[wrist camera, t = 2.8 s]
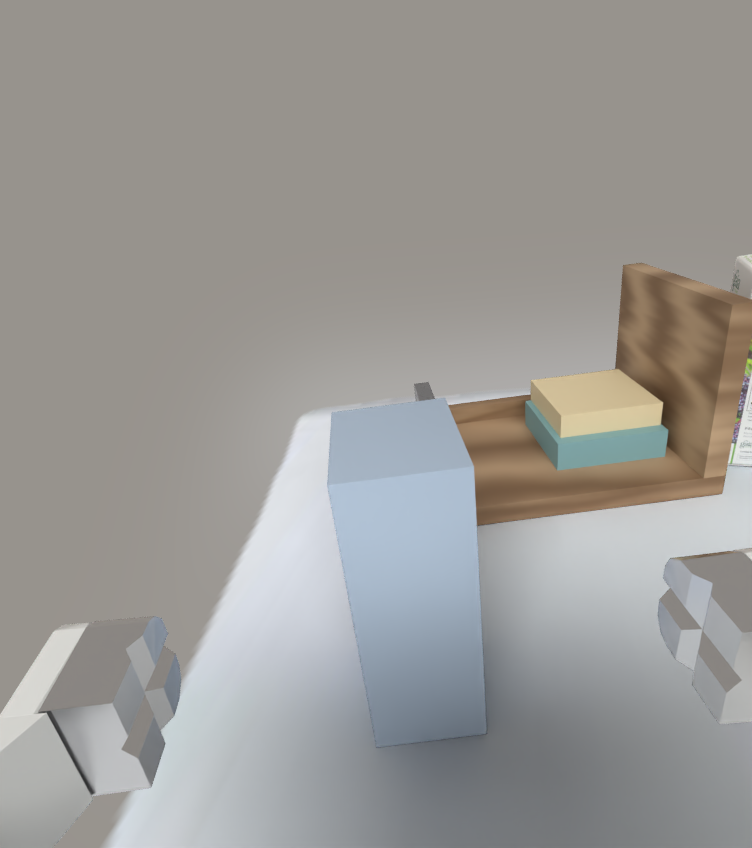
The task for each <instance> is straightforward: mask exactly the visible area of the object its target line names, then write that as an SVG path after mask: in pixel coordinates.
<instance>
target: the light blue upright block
mask: <svg viewBox="0 0 752 848" xmlns="http://www.w3.org/2000/svg"><path fill="white" fill-rule="evenodd" d="M327 487H328V492H329V497H330V502H331V508H332V513H333V518H334V524H335V529H336V534H337V540H338V545H339V550H340V555H341V561H342V566H343V571H344V577H345V582H346V587H347V593H348V598H349V603H350V609H351V614H352V619H353V624H354V630H355V635H356V640H357V646H358V651H359V656H360V662H361V667H362V672H363V678H364V683H365V688H366V693H367V699H368V704H369V709H370V715H371V720H372V725H373V731H374V736H375V741H376V747H377V748H378V747H386V746H394V745H402V744H410V743H418V742H426V741H434V740H442V739H450V738H458V737H466V736H474V735H482V734H487V725H486V704H485V684H484V663H483V643H482V622H481V602H480V581H479V561H478V540H477V520H476V499H475V479H474V465H473V463H472V461H471V458H470V456H469V454H468V451H467V449H466V447H465V444H464V442H463V439H462V437H461V435H460V432H459V430H458V428H457V425H456V423H455V420H454V418H453V416H452V413H451V411H450V409H449V406H448V404H447V401H446V399H445V398H439V399H431V400H423V401H416V402H408V403H401V404H393V405H385V406H378V407H370V408H362V409H355V410H347V411H339V412H332V415H331V432H330V449H329V465H328V482H327Z"/></svg>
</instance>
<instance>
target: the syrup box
mask: <svg viewBox="0 0 752 848" xmlns="http://www.w3.org/2000/svg"><path fill="white" fill-rule="evenodd" d="M730 292H731V293H734V294H737V295H740V296H743V297H746V298H749V299H752V254H750V255H744V256H738V257H737V259H736V262H735V268H734V273H733V279H732V285H731V291H730ZM728 465H737V466H752V336H751V342H750V347H749V353H748V358H747V363H746V369H745V374H744V379H743V385H742V390H741V395H740V401H739V406H738V412H737V417H736V422H735V428H734V433H733V438H732V444H731V449H730V454H729V460H728Z"/></svg>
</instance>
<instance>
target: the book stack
mask: <svg viewBox="0 0 752 848" xmlns="http://www.w3.org/2000/svg"><path fill="white" fill-rule="evenodd" d="M662 409H663V402H662V401H660V400H659V399H658V398H656V397H655V396H654V395H652V394H651V393H650V392H648V391H647V390H646V389H644V388H643V387H642V386H640V385H639V384H638V383H636V382H635V381H634V380H632V379H631V378H630V377H628V376H627V375H626V374H624V373H623V372H622V371H620V370H619V369H614V370H606V371H598V372H591V373H583V374H575V375H568V376H561V377H552V378H545V379H537V380H531V400H529V401H525V424H526V426H527V427H528V429H529V430H530V431H531V433H532V434H533V436H534V437H535V439H536V440H537V442H538V443H539V445H540V446H541V447H542V449H543V450H544V452H545V453H546V455H547V456H548V458H549V459H550V460H551V462H552V463H553V465H554V466H555V468H556V469H557V471H558V470H565V469H573V468H581V467H589V466H596V465H604V464H612V463H619V462H627V461H635V460H643V459H650V458H658V457H665V453H666V445H667V438H668V429H666V428H665V427H664V426H663V425H662V424H661V417H662Z"/></svg>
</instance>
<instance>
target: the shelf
mask: <svg viewBox="0 0 752 848" xmlns="http://www.w3.org/2000/svg"><path fill="white" fill-rule="evenodd" d="M751 336H752V299H749V298H746V297H743V296H740V295H737V294H734V293H731V292H728V291H725V290H722V289H718V288H715V287H713V286H710V285H707V284H704V283H701V282H698V281H695V280H692V279H689V278H686V277H683V276H679V275H677V274H674V273H670V272H667V271H665V270H662V269H659V268H656V267H653V266H650V265H647V264H644V263H636V264H629V265H623V274H622V289H621V301H620V314H619V328H618V340H617V341H618V342H617V354H616V367H615V369H619V370H620V371H622V372H623V373H624V374H626V375H627V376H628V377H630V378H631V379H632V380H634V381H635V382H636V383H638V384H639V385H640V386H642V387H643V388H644V389H646V390H647V391H648V392H650V393H651V394H652V395H654V396H655V397H656V398H658V399H659V400H660V401H662V402H663V409H662V417H661V424H662V425H663V426H664V427H665V428H666V429H668V438H667V445H666V453H665V457H658V458H650V459H643V460H635V461H627V462H619V463H612V464H604V465H596V466H589V467H581V468H573V469H565V470H558V471H557V469H556V468H555V466H554V465H553V463H552V462H551V460H550V459H549V458H548V456H547V455H546V453H545V452H544V450H543V449H542V447H541V446H540V445H539V443H538V442H537V440H536V439H535V437H534V436H533V434H532V433H531V431H530V430H529V429H528V427H527V426H526V424H525V401H529V400H531V395H523V396H516V397H508V398H500V399H493V400H485V401H477V402H470V403H462V404H454V405H448V406H449V409H450V411H451V413H452V416H453V418H454V420H455V423H456V425H457V428H458V430H459V432H460V435H461V437H462V439H463V442H464V444H465V447H466V449H467V451H468V454H469V456H470V458H471V461H472V463H473V465H474V479H475V499H476V520H477V525H484V524H492V523H500V522H507V521H515V520H523V519H531V518H539V517H546V516H554V515H562V514H570V513H577V512H585V511H593V510H601V509H608V508H616V507H624V506H632V505H639V504H647V503H655V502H663V501H670V500H678V499H686V498H694V497H701V496H709V495H717V494H722V492H723V487H724V481H725V476H726V470H727V465H728V460H729V454H730V449H731V444H732V438H733V433H734V428H735V422H736V417H737V412H738V406H739V401H740V395H741V390H742V385H743V379H744V374H745V369H746V363H747V358H748V353H749V347H750V342H751Z"/></svg>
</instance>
